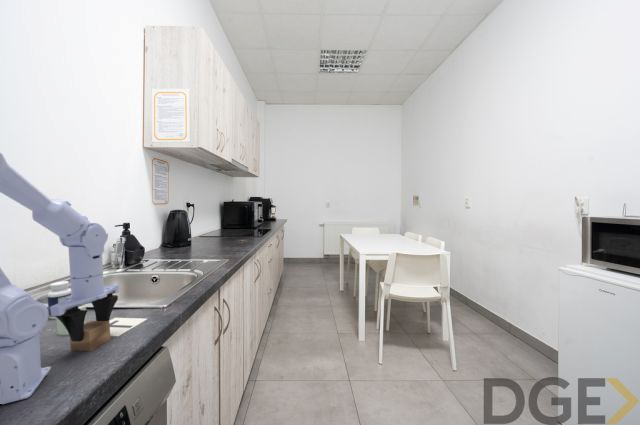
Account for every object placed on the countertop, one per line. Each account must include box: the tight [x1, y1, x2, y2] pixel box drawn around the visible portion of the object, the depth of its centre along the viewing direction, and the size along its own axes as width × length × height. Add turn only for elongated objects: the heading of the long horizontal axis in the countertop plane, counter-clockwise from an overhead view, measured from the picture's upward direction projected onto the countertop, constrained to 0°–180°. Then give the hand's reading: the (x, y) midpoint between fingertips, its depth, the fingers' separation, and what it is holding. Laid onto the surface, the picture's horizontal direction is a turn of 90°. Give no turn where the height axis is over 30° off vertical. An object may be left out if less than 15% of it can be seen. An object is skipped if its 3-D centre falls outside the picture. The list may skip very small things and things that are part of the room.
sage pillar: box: [56, 305, 88, 336], centre depth 71 cm, size 4×4×6 cm
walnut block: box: [69, 320, 112, 352], centre depth 64 cm, size 5×5×5 cm
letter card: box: [109, 317, 148, 337], centre depth 73 cm, size 10×10×1 cm
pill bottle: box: [47, 280, 71, 320], centre depth 81 cm, size 5×5×10 cm
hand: (90, 333), depth 64 cm, fingers open, 6 cm apart
